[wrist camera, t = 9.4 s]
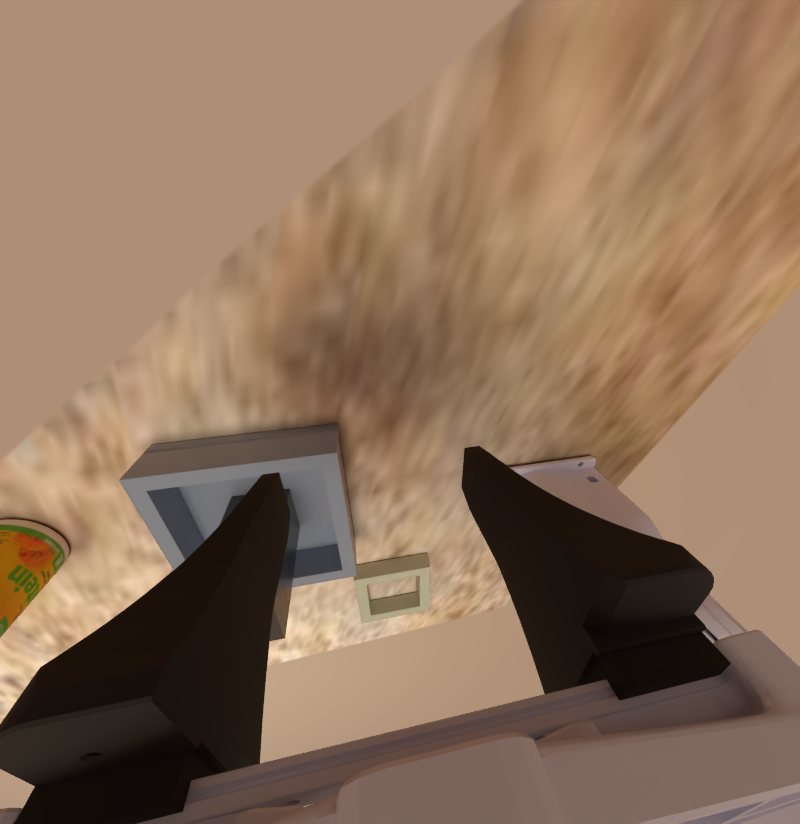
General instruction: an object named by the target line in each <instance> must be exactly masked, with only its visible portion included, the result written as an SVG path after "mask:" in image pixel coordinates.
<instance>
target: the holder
mask: <svg viewBox="0 0 800 824" xmlns="http://www.w3.org/2000/svg"><path fill="white" fill-rule="evenodd" d="M356 566H357V576H354V582H355V587H356V593H357V599H358V605H359V611H360V617H361V622H362V623H366V622H371V621H376V620H381V619H386V618H391V617H396V616H401V615H406V614H412V613H417V612H422V611H427V610H429V609H430V564H429V561H428V557H427V553H423V554H418V555H412V556H406V557H400V558H394V559H389V560H383V561H377V562H371V563H365V564H360V565H356ZM415 576H417V592H414V593H409V594H403V595H398V596H393V597H387V598H382V599H377V600H371V601H369V593H368V586H367V585H371V584H376V583H382V582H387V581H393V580H398V579H404V578H409V577H415Z"/></svg>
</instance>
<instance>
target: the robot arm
mask: <svg viewBox="0 0 800 824" xmlns="http://www.w3.org/2000/svg"><path fill="white" fill-rule="evenodd" d="M595 463H596V459H595V458H594V457H592V456H586V457H579V458H572V459H565V460H558V461H551V462H544V463H537V464H530V465H523V466H516V467H508V466H506V465H505V464H504V463H502V462H501V461H500V460H498V459H497V458H495V457H494V456H493V455H491V454H490V453H488V452H487V451H486V450H484V449H483V448H481V447H480V446H476V447H468V448H465V450H464V463H463V476H462V489H463V492H464V495H465V498H466V501H467V503H468V506H469V509H470V511H471V513H472V515H473V517H474V519H475V521H476V523H477V525H478V527H479V529H480V531H481V532H482V534H483V536H484V538H485V540H486V542H487V544H488V546H489V548H490V550H491V552H492V554H493V556H494V558H495V560H496V562H497V564H498V566H499V568H500V570H501V573H502V575H503V578H504V580H505V583H506V585H507V588H508V590H509V593H510V595H511V598H512V601H513V603H514V606H515V609H516V611H517V614H518V616H519V619H520V622H521V625H522V628H523V631H524V633H525V636H526V639H527V642H528V645H529V648H530V650H531V653H532V656H533V659H534V662H535V665H536V668H537V671H538V675H539V678H540V681H541V684H542V687H543V690H544V693H545V694H544V695H540V696H536V697H532V698H528V699H524V700H520V701H515V702H512V703H508V704H503V705H499V706H495V707H491V708H487V709H483V710H479V711H474V712H470V713H466V714H462V715H458V716H454V717H450V718H446V719H442V720H438V721H433V722H429V723H425V724H421V725H417V726H413V727H409V728H405V729H401V730H396V731H392V732H388V733H384V734H380V735H376V736H372V737H368V738H364V739H360V740H355V741H351V742H347V743H343V744H339V745H335V746H331V747H327V748H322V749H318V750H315V751H310V752H306V753H302V754H298V755H294V756H290V757H286V758H281V759H278V760H274V761H269V762H265V763H261V764H260V750H261V734H262V718H263V704H264V694H265V681H266V670H267V660H268V650H269V641H270V632H271V624H272V615H273V608H274V602H275V597H276V592H277V588H278V583H279V579H280V574H281V569H282V565H283V560H284V555H285V551H286V546H287V541H288V534H289V523H290V509H289V506H288V502H287V498H286V495H285V491H284V488H283V484H282V481H281V477H280V474H279V472H277V473H270V474H262V475H261V476H260V478H259V479H258V480H257V481H256V482H255V484H254V485H253V486H252V487H251V489H250V490H249V491H248V492H247V494H246V495H245V496H244V497H243V498H242V500H241V501H240V502H239V503H238V505H237V506H236V507H235V508H234V509H233V510H232V512H231V513H230V514H229V515H228V516H227V518H226V519H225V520H224V521H223V522H222V523H221V524H220V525H219V526H218V528H217V529H216V530H215V531H214V532H213V533H212V534H211V535H210V536H209V537H208V538H207V539H206V540H205V541H204V542H203V543H202V544H201V545H200V546H199V547H198V548H197V549H196V550H195V551H194V552H193V553H192V554H191V555H190V556H189V557H188V558H187V559H186V560H185V561H184V562H182V563H181V564H180V565H179V566H178V567H177V568H176V569H175V570H174V571H172V572H171V573H170V574H169V575H168V576H166V577H165V578H164V579H163V580H162V581H160V582H159V583H158V584H157V585H156V586H154V587H153V588H152V589H151V590H150V591H148V592H147V593H146V594H145V595H143V596H142V597H141V598H140V599H138V600H137V601H136V602H134V603H133V604H132V605H130V606H129V607H128V608H126V609H125V610H124V611H122V612H121V613H120V614H118V615H117V616H116V617H114V618H113V619H111V620H110V621H109V622H107V623H106V624H105V625H103V626H102V627H100V628H99V629H97V630H96V631H95V632H93V633H92V634H90V635H89V636H87V637H86V638H84V639H83V640H81V641H80V642H78V643H77V644H75V645H74V646H72V647H71V648H69V649H68V650H66V651H65V652H63V653H62V654H60V655H59V656H57V657H56V658H54V659H53V660H51V661H50V662H48V663H47V664H45V665H43V666H42V667H41V668H40V669H39V670H38V672H37V673H36V674H35V676H34V677H33V678H32V680H31V681H30V683H29V684H28V686H27V687H26V688H25V690H24V691H23V693H22V694H21V696H20V697H19V698H18V700H17V701H16V703H15V704H14V706H13V707H12V708H11V710H10V711H9V713H8V714H7V716H6V717H5V718H4V720H3V721H2V723H1V724H0V769H2V770H4V771H6V772H8V773H10V774H12V775H14V776H16V777H18V778H20V779H22V780H24V781H26V782H28V783H30V784H32V785H34V786H35V788H34V789H33V791H32V793H31V795H30V797H29V798H28V800H27V802H26V804H25V806H24V807H23V809H22V808H6V809H0V824H800V667H799V666H798V665H797V664H796V663H795V662H794V661H793V660H792V659H791V658H790V657H789V656H787V655H786V654H785V653H784V652H783V651H782V650H781V649H780V648H779V647H778V646H777V645H776V644H775V643H773V642H772V641H771V640H770V639H769V638H768V637H767V636H766V635H765V634H764V633H763V632H762V631H759V630H753V631H749V632H748V631H747V630H746V629H745V628H744V627H742V625H741V624H740V623H739V622H738V621H737V620H736V619H735V618H733V617H732V616H731V615H730V614H729V613H728V612H727V611H726V610H725V609H724V608H723V607H722V606H721V605H720V604H719V603H718V602H717V601H716V600H714V598H712V597H711V596H710V595H709V593H710V591H711V590H712V588H713V583H714V577H713V575H712V573H711V572H710V571H709V570H708V569H707V568H706V567H705V566H704V565H703V564H702V563H700V562H699V561H698V560H697V559H696V558H695V557H694V556H693V555H691V554H690V553H689V552H688V551H687V550H686V549H685V548H684V547H683V546H681V545H678V544H675V543H672V542H668V541H665V540H663V539H662V537H661V535H660V533H659V531H658V529H657V528H656V526H655V525H654V523H653V522H652V521H651V519H650V518H649V517H648V516H647V515H646V514H645V513H644V512H643V511H642V510H641V509H640V508H638V507H637V506H636V505H635V504H634V503H633V502H632V501H631V500H630V499H628V498H627V497H626V496H625V495H624V494H623V493H622V492H621V491H620V490H618V489H617V488H616V487H615V486H614V485H613V484H612V483H611V482H610V481H608V480H607V479H606V478H605V477H604V476H603V475H602V474H601V473H600V472H598V471H597V470H596V469H595V468H594V466H595ZM313 803H314V804H313ZM310 804H311V805H310ZM306 805H309V806H306ZM303 806H306V807H303Z"/></svg>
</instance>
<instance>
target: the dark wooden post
mask: <svg viewBox="0 0 800 824" xmlns="http://www.w3.org/2000/svg"><path fill="white" fill-rule="evenodd" d="M284 491H285V495H286V498H287V502H288V506H289V509H290V523H289V534H288V541H287V546H286V551H285V555H284V560H283V565H282V569H281V574H280V579H279V583H278V588H277V592H276V597H275V602H274V608H273V615H272V624H271V632H270V641H273V640H278V639H283V638H285V634H286V626H287V619H288V612H289V604H290V597H291V590H292V583H293V575H294V568H295V561H296V553H297V546H298V539H299V531H300V525H299V521H298V517H297V513H296V510H295V506H294V502H293V499H292V495H291V491H290V488H289V489H284ZM244 496H245V495H238V496H232V497H231V499H230V501H229V504H228V506H227V509H226V511H225V513H224V516H223V518H222V521H221V523H222V522H223V521H224V520H225V519H226V518H227V516H228V515H229V514H230V513H231V512H232V510H233V509H234V508H235V507H236V506H237V505H238V503H239V502H240V501H241V500H242V498H243V497H244ZM221 523H220V524H221Z"/></svg>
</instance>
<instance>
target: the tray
mask: <svg viewBox="0 0 800 824" xmlns="http://www.w3.org/2000/svg"><path fill="white" fill-rule="evenodd" d="M277 472H279V474H280V477H281V481H282V484H283V488H284V489H289V488H290V491H291V495H292V499H293V502H294V506H295V510H296V513H297V517H298V521H299V525H300V531H299V539H298V546H297V553H296V561H295V568H294V575H293V583H292V587H297V586H302V585H308V584H314V583H319V582H325V581H331V580H336V579H342V578H348V577H353V576H357V566H356V547H355V535H354V529H353V522H352V516H351V509H350V503H349V496H348V490H347V483H346V477H345V470H344V464H343V457H342V451H341V444H340V438H339V431H338V425H337V424H328V425H320V426H311V427H302V428H293V429H285V430H276V431H267V432H258V433H250V434H241V435H232V436H223V437H215V438H206V439H197V440H188V441H180V442H171V443H162V444H153V445H151V446H150V447H149V448H148V449H147V450H146V451H145V452H144V453H143V454H142V456H141V457H140V458H139V459H138V460H137V461H136V462H135V463H134V464H133V465H132V466H131V468H130V469H129V470H128V471H127V472H126V473H125V474H124V475H123V476H122V477H121V478H120V480H119V481H120V483H121V484H122V486H123V488H124V489H125V491H126V493H127V494H128V496H129V497H130V499H131V501H132V502H133V504H134V506H135V507H136V509H137V511H138V512H139V514H140V516H141V517H142V519H143V520H144V522H145V524H146V525H147V527H148V529H149V530H150V532H151V534H152V535H153V537H154V539H155V540H156V542H157V544H158V545H159V547H160V548H161V550H162V552H163V553H164V555H165V557H166V558H167V560H168V562H169V563H170V565H171V567H172V568H173V570H175V569H176V568H177V567H178V566H179V565H180V564H181V563H182V562H184V561H185V560H186V559H187V558H188V557H189V556H190V555H191V554H192V553H193V552H194V551H195V550H196V549H197V548H198V547H199V546H200V545H201V544H202V543H203V542H204V541H205V540H206V539H207V538H208V537H209V536H210V535H211V534H212V533H213V532H214V531H215V530H216V529H217V528H218V526H219V525H220V523H221V521H222V518H223V516H224V513H225V511H226V509H227V506H228V504H229V501H230V499H231V497H232V496H238V495H246V494H247V492H248V491H249V490H250V489H251V487H252V486H253V485H254V484H255V482H256V481H257V480H258V479H259V478H260V476H261V475H262V474H270V473H277Z"/></svg>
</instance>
